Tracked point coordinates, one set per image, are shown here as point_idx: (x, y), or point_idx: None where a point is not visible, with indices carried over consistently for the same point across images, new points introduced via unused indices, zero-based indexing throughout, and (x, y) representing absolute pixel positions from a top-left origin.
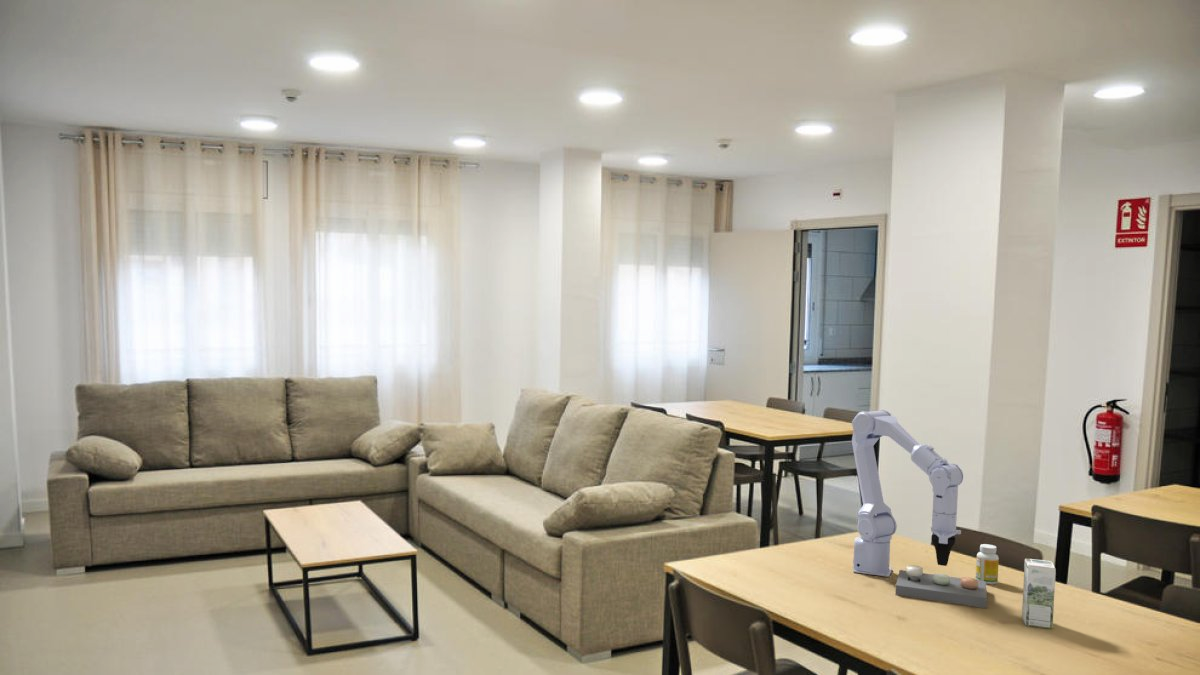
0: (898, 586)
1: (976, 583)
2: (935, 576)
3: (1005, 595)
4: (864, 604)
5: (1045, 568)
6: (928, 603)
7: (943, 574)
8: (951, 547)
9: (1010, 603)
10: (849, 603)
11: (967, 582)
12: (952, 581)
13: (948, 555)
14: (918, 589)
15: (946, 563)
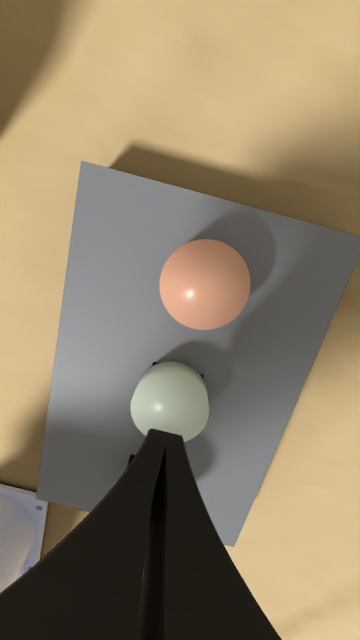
0: (236, 536)
1: (239, 255)
2: (184, 439)
3: (136, 85)
4: (327, 595)
5: None
6: (299, 437)
7: (139, 395)
8: (259, 610)
9: (255, 97)
10: (322, 623)
11: (242, 305)
12: (131, 337)
13: (200, 501)
14: (257, 483)
15: (185, 449)
